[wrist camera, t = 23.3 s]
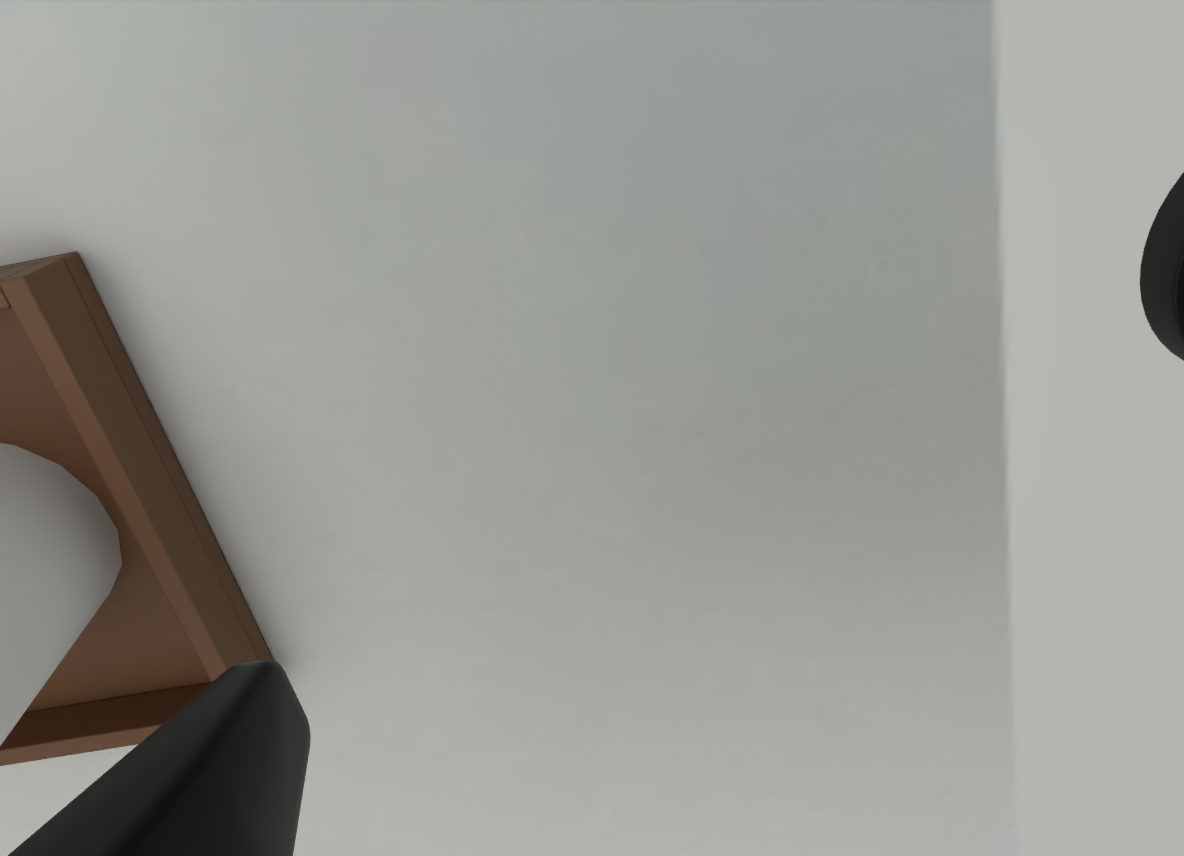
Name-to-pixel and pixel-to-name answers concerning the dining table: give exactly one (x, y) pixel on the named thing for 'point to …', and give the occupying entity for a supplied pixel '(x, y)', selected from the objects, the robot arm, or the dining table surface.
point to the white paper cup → (46, 572)
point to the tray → (139, 512)
